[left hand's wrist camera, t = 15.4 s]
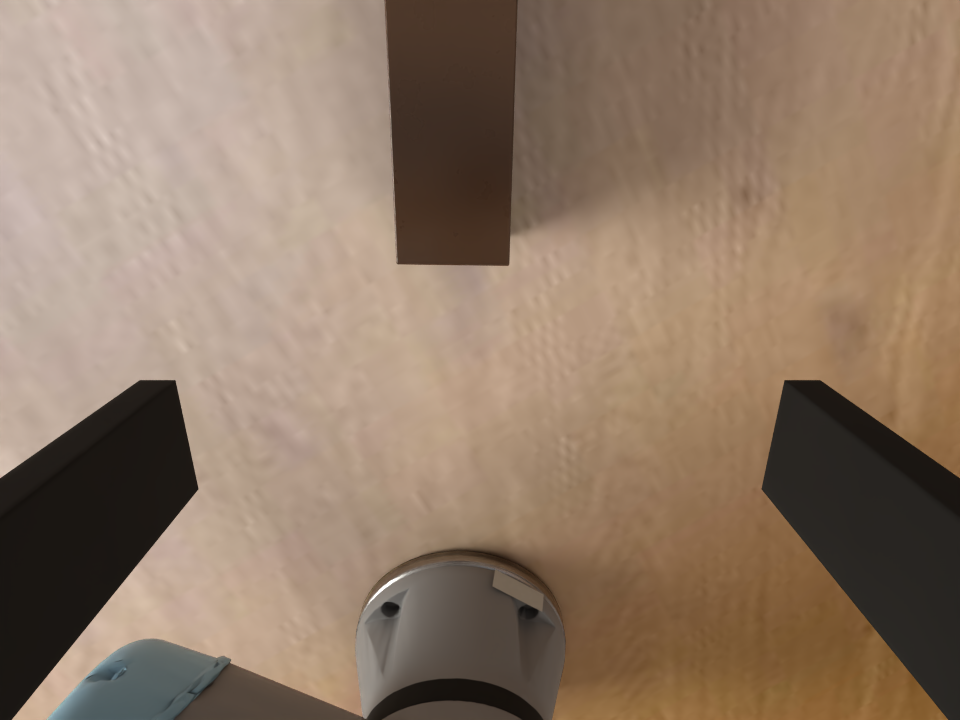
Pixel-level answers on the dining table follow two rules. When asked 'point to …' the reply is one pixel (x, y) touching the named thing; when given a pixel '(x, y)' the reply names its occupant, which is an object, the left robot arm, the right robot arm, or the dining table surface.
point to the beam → (452, 128)
